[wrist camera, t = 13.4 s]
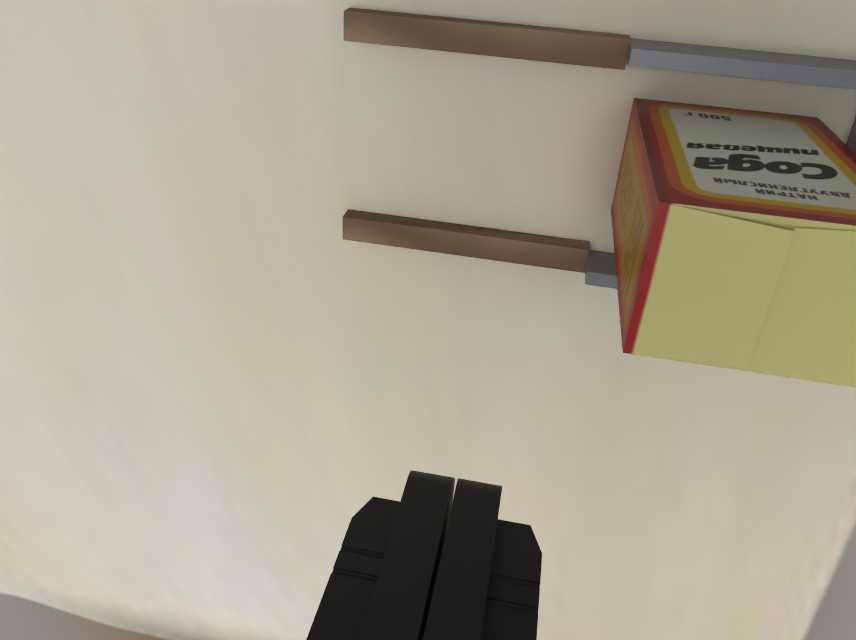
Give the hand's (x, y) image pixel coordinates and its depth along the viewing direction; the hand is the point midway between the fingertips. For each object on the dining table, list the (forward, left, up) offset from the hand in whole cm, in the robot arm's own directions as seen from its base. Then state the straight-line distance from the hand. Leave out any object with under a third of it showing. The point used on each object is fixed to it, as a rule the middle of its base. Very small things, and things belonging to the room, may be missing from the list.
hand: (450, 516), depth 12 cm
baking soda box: (+4, +10, -33) cm, 35 cm away
